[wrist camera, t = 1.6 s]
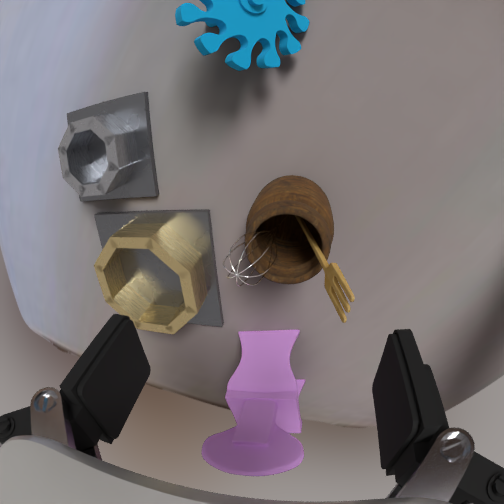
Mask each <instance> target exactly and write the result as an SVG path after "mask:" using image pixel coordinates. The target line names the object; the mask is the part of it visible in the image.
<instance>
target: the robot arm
mask: <svg viewBox="0 0 504 504" xmlns="http://www.w3.org/2000/svg"><path fill="white" fill-rule="evenodd" d="M149 375H150V365H149V363H148V360H147V358H146V355H145V353H144V350H143V347H142V345H141V342H140V339H139V336H138V334H137V331H136V328H135V325H134V322H133V321H132V320H130V317H129V316H126V315H119V314H114V315H112V317H111V318H110V319H109V320H108V322H107V323H106V324H105V325H104V327H103V328H102V329H101V331H100V332H99V333H98V334H97V336H96V337H95V338H94V340H93V341H92V342H91V344H90V345H89V346H88V348H87V349H86V350H85V352H84V353H83V354H82V356H81V357H80V358H79V360H78V361H77V362H76V364H75V365H74V367H73V368H72V369H71V371H70V372H69V374H68V375H67V376H66V378H65V379H64V380H63V382H62V384H61V385H60V388H61V390H60V391H58V390H57V389H55V388H53V387H46V388H42V389H40V390H39V391H37V392H36V393H35V394H34V396H33V397H32V400H31V404H30V406H29V407H26V408H23V409H20V410H17V411H14V412H11V413H8V414H4V415H3V416H0V504H504V468H503V467H501V466H499V465H497V464H495V463H494V462H492V461H490V460H488V459H487V458H485V457H483V456H481V455H480V454H478V453H476V452H475V451H474V450H475V447H474V441H473V438H472V437H471V435H470V434H469V433H468V432H467V431H465V430H463V429H461V428H449V426H448V422H447V418H446V415H445V411H444V408H443V404H442V401H441V398H440V395H439V391H438V388H437V385H436V382H435V379H434V376H433V373H432V370H431V368H430V366H429V365H428V364H423V361H422V358H421V355H420V352H419V350H418V347H417V344H416V341H415V339H414V336H413V333H412V331H411V330H410V329H402V330H394V332H393V334H389V335H388V338H387V342H386V345H385V348H384V352H383V355H382V358H381V361H380V364H379V367H378V370H377V373H376V376H375V379H374V382H373V387H372V392H373V399H374V406H375V413H376V421H377V430H378V439H379V449H380V459H381V467H382V469H386V475H387V476H388V475H395V479H396V482H397V485H396V486H395V487H394V488H393V490H392V491H391V492H390V494H389V495H388V496H387V498H385V499H372V500H360V501H341V502H340V501H339V502H297V501H294V502H293V501H277V500H264V499H254V498H246V497H238V496H231V495H225V494H218V493H213V492H208V491H203V490H198V489H193V488H188V487H184V486H180V485H176V484H172V483H168V482H165V481H161V480H158V479H154V478H151V477H147V476H144V475H141V474H138V473H135V472H132V471H129V470H126V469H123V468H120V467H117V466H115V465H112V464H110V463H107V462H104V461H102V458H101V455H100V452H99V448H98V445H97V443H98V441H99V439H100V440H102V441H104V442H107V443H110V444H112V442H113V440H114V439H116V438H117V437H118V436H119V434H120V432H121V430H122V428H123V426H124V424H125V422H126V420H127V418H128V416H129V414H130V412H131V410H132V408H133V406H134V404H135V402H136V400H137V398H138V396H139V394H140V393H141V391H142V389H143V387H144V385H145V383H146V381H147V379H148V377H149Z"/></svg>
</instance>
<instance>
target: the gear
mask: <svg viewBox="0 0 504 504" xmlns="http://www.w3.org/2000/svg"><path fill="white" fill-rule="evenodd" d="M200 1H201V2H202V3H203V4H204V5H205V6H206V8H207V11H206V12H204V11H201V10H200V9H199V8H198V7H196V6H195V5H194V4H191V3H184V4H182V5H181V6H179V7H178V8H177V9H176V13H175V17H176V23H177V25H179V26H187V25H189V24H191V23H194V22H199V21H204V22H205V23H206V25H207V26H209V27H214V26H216V25H217V26H218V28H219V31H220V32H219V35H218V34H214V33H205V34H203V35H201V36H199V37H198V38H196V39H195V41H194V43H195V45H196V47H197V49H198V50H199V51H200V52H201V54H202V55H208V54H211V53H213V52H215V51H217V50H218V49H219V47H220V45H221V44H222V42H223V41H225V40H226V39H227V38H232V37H233V38H236V39H238V40H239V42H240V45H241V46H240V49H239V50H238V51H236V52H233V53H230V54H229V55H227V57H226V59H225V63H226V64H227V65H228V66H230V67H231V68H233V69H235V70H238V71H241V70H245V69H247V68H249V66H250V64H251V52H252V49H253V46H254V45H255V44H256V42H257V41H259V42H260V43H261V44H262V47H263V50H262V52H261V53H260V55H259V56H258V57H257V66H258V67H260V68H273V67H279V66H280V58H279V56H278V54H277V51H276V47H275V37H276V34H277V35H278V36H279V38H280V43H279V50H280V52H281V54H282V55H289V54H294V53H296V52H298V51H299V50H300V49H301V45H300V43H299V41H298V40H296V39H295V38H294V37H293V35H292V34H291V33H290V31H289V29H288V27H287V24H286V20H285V18H286V19H287V20H288V23H289V26H290V28H291V30H292V31H293V32H295V33H300V32H305V31H306V30H307V28H308V26H309V20H308V19H307V18H306V17H305V16H301V15H299V14H297V13H295V12H294V11H293V10H292V9H291V8H290V7H289V6H288V5H287V4H286V2H285V0H200ZM286 1H287V2H288V3H289V4H290V5H291V6H294V7H296V6H300V5H303V4H305V0H286Z"/></svg>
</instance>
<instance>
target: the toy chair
mask: <svg viewBox="0 0 504 504" xmlns="http://www.w3.org/2000/svg"><path fill="white" fill-rule="evenodd" d="M238 333H239V337H240V341H241V346H242V358H241V361H240V364H239V365H238V367H237V369H236V371H235V372H234V374H233V375H232V377H231V378H230V380H229V382H228V385H227V392H226V395H225V399H226V401H227V403H228V406H229V407H230V409H231V411H232V413H233V416H234V418H235V420H236V423H237V426H235V427H233V428H231V429H229V430H226V431H224V432H221V433H217V434H214V435H212V436H210V437H208V438H207V439H206V440H205V442H204V443H203V447H202V456H203V459H204V460H205V461H206V462H207V463H208V464H210V465H211V466H213V467H215V468H217V469H219V470H221V471H224V472H227V473H230V474H236V475H245V476H266V475H274V474H278V473H282V472H285V471H288V470H291V469H293V468H295V467H297V466H298V465H299V464H300V463H301V462H302V460H303V458H304V450H303V447H302V444H301V442H300V441H299V440H298V439H296V438H295V437H293V436H291V434H289V433H301V429H302V420H301V417H300V411H299V402H298V397H299V394H300V392H301V390H302V388H303V386H304V384H305V379H298V380H296V379H295V377H294V375H293V372H292V370H291V366H290V354H291V350H292V348H293V345H294V343H295V341H296V339H297V337H298V335H299V333H300V330H298V329H296V330H273V331H239V332H238Z"/></svg>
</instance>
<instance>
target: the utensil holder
mask: <svg viewBox="0 0 504 504" xmlns="http://www.w3.org/2000/svg"><path fill="white" fill-rule="evenodd" d="M333 235H334V222H333V216H332V211H331V207H330V204H329V201H328V198H327V196H326V195H325V193H324V192H323V190H322V189H321V188H320V187H319V186H318V185H317V184H316V183H314V182H313V181H311V180H309V179H307V178H304V177H301V176H294V175H290V176H283V177H280V178H277V179H275V180H273V181H271V182H270V183H269V184H267V185H266V186H265V187H264V188H263V189H262V190H261V192H260V193H259V195H258V196H257V198H256V200H255V202H254V203H253V205H252V207H251V209H250V212H249V214H248V218H247V223H246V234H245V242H244V243H245V249H244V251H245V250H246V254H247V255H246V256H247V257H248V260H249V262H250V263H251V265H250V266H249V267H251V266H253V268H254V269H255V270H256V271H257V272H258V273H259V274H260V275H262V276H263V277H265V278H267V279H269V280H271V281H274V282H277V283H281V284H296V283H301V282H304V281H306V280H309V279H311V278H312V277H314V276H315V275H316V274H318V273H319V272H320V271H321V269H322V268H323V270H324V272H325V289H326V291H327V293H328V295H329V297H330V299H331V301H332V303H333V305H334V307H335V309H336V311H337V313H338V315H339V316H340V319H341V321H342V322H343V323H345V322H346V320H347V318H346V316H345V313H344V311H343V309H342V306H341V304H340V302H341V303H342V305H343V307H344V309H345V311H346V312H350V306H349V304H348V301H347V299H346V297H345V295H344V293H343V291H342V289H341V287H342V288H343V290H344V292H345V293H346V295H347V297H348V299H349V300H350V302H353V301H354V295H353V293H352V291H351V289H350V287H349V285H348V283H347V282H346V280H345V278H344V276H343V274H342V272H341V270H340V268H339V267H338V265H337V263H330V265H329V264H328V262H327V259H328V256H329V253H330V249H331V243H332V240H333ZM243 236H244V235H243ZM243 236H241V237H243ZM241 237H240V238H241ZM240 238H239V239H240ZM239 239H238V240H239ZM238 240H237V241H238ZM237 241H236V242H237ZM236 242H235V243H234V244H233V246H234V245H235V244H236ZM244 243H242V244H244ZM242 244H240V245H242ZM240 245H238V246H240ZM233 246H232V247H233ZM238 246H237V247H238ZM232 247H231V249H232ZM237 247H235V248H237ZM235 248H234V249H235ZM231 249H230V252H229V254H228V255H229V259H230V253H231V252H232V251H233V250H234V249H233V250H232V251H231ZM244 251H243V253H244ZM243 253H242V255H243ZM228 255H227V256H226V258H227V257H228ZM242 255H241V258H242ZM246 256H245V257H246ZM245 257H244V258H245ZM226 258H225V259H226ZM241 258H240V261H239V263H238V264H237V265H238V268H239V264H240V262H241V261H242V260H243V259H244V258H243V259H242V260H241ZM225 259H224V261H225ZM224 261H223V266H224ZM230 264H231V259H230ZM237 265H236V266H237ZM231 266H232V264H231ZM236 266H235V268H236ZM249 267H248V268H249ZM224 268H225V266H224ZM232 268H233V266H232ZM235 268H233V270H234V269H235ZM238 268H237V273H236V272H235V270H234V272H235V273H236V274H235V273H232V271H233V270H232V271H231V272H230V271H229V270H227V269H226V268H225V269H226V270H227V271H228V272H230V273H229V275H230V274H231V273H232V274H235V276H236V283H237V276H238V277H239V276H242V275H239V274H240V273H242V272H243V271H245V270H246V269H248V268H246V269H245V270H243V271H242V272H240V273H238ZM254 269H253V271H254ZM253 271H252V272H253ZM252 272H251V274H252ZM251 274H250V275H251ZM229 275H228V276H229ZM250 275H249V276H242V277H248V278H249V277H257V276H260V275H257V276H250ZM235 276H233V277H235ZM233 277H230V278H233ZM263 277H262V278H263ZM227 278H228V277H227ZM230 278H228V279H230ZM248 278H247V279H248ZM262 278H261V279H262ZM239 279H240V280H241V281H242V282H243V283H242V284H241V285H243V284H244V283H245V281H246V280H247V279H246V280H245V281H243V280H242V279H241V278H240V277H239ZM261 279H260V281H261ZM260 281H259V282H260ZM259 282H258V283H259ZM338 282H339V283H340V285H341V287H340V285H339V283H338ZM258 283H256V284H258ZM245 284H247V283H245ZM256 284H254V285H256ZM237 285H238V283H237ZM241 285H238V286H241ZM247 285H251V284H247ZM251 286H252V285H251ZM335 292H336V293H335ZM336 294H337V295H336ZM337 296H338V297H337ZM338 298H339V300H340V302H339V300H338Z"/></svg>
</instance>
